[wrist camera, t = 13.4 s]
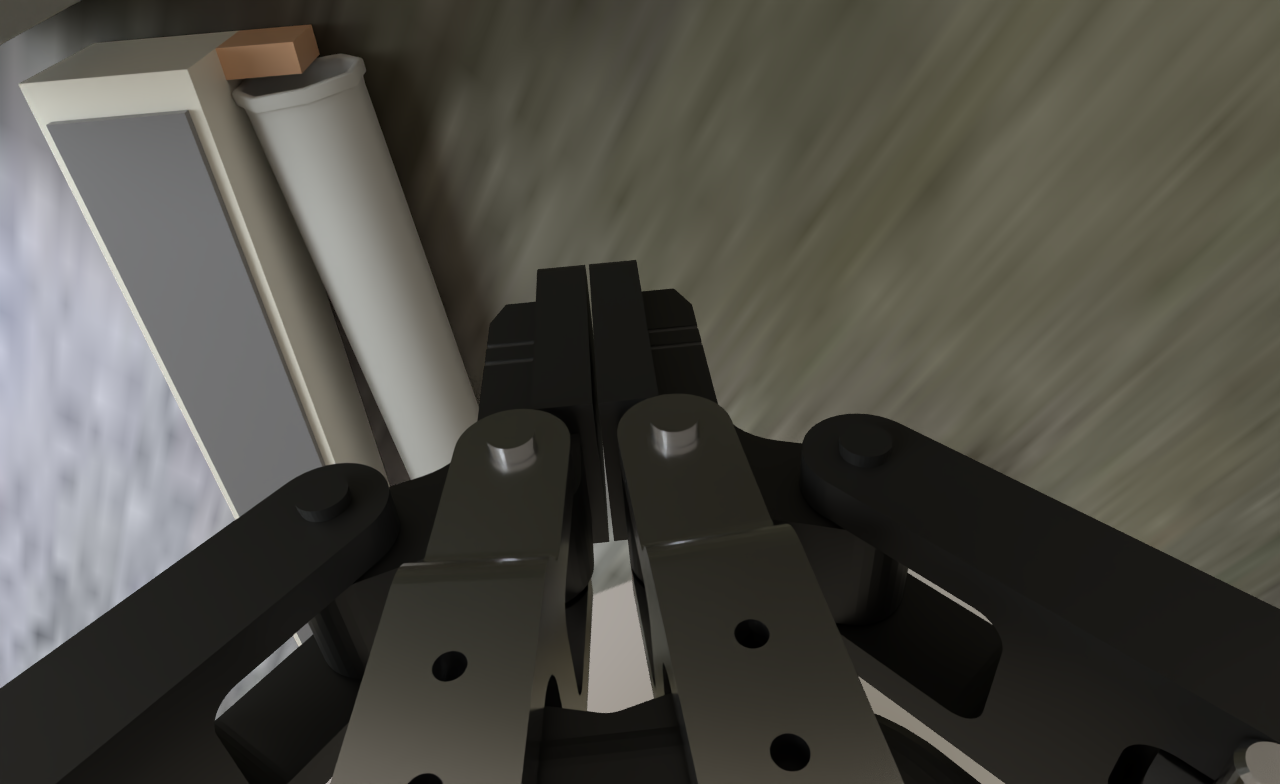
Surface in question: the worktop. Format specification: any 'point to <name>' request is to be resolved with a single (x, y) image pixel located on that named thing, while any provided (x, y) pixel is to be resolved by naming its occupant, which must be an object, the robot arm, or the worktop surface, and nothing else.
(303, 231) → the tube
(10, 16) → the skincare box
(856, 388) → the worktop surface
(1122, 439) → the worktop surface
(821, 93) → the worktop surface
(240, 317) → the long cream box
